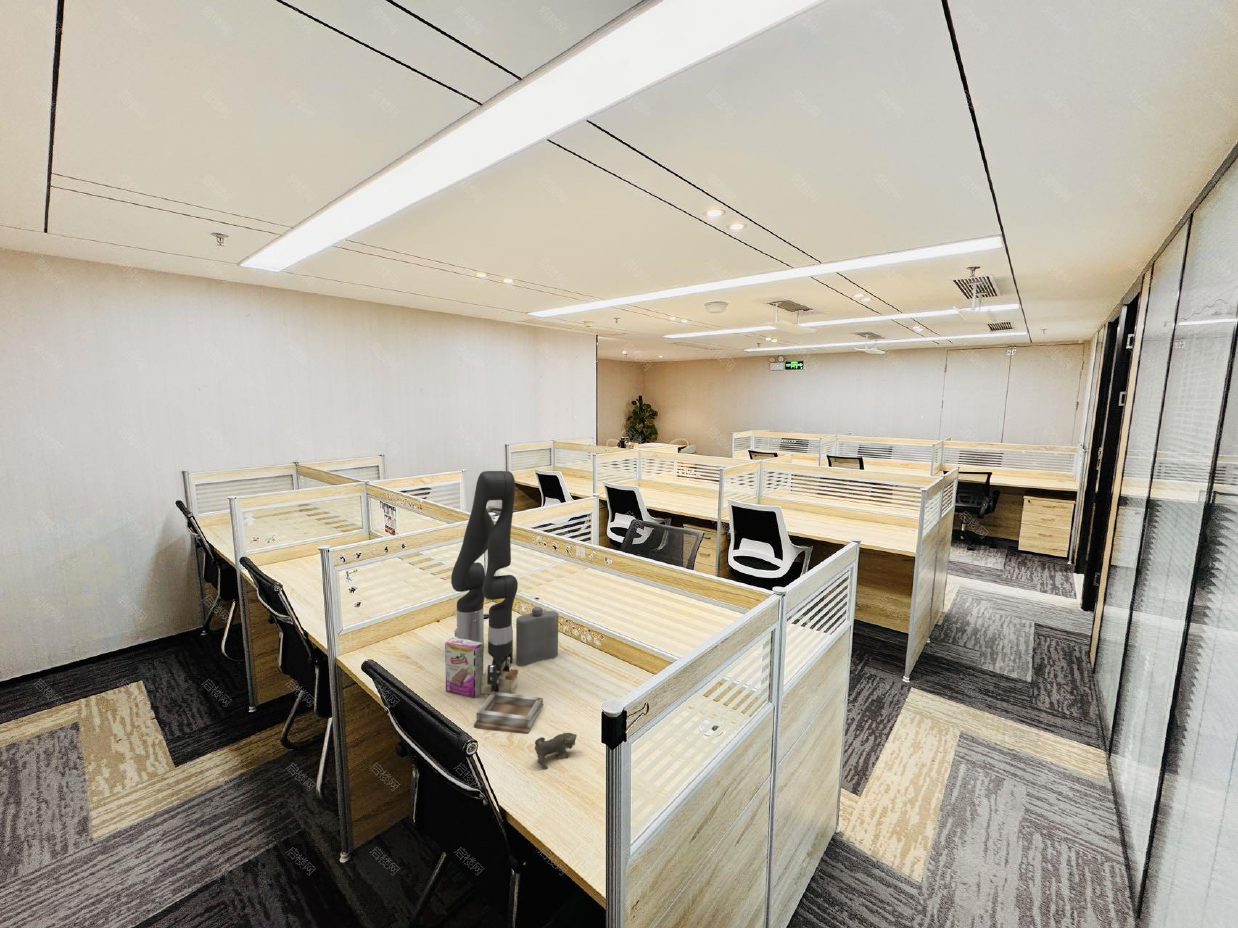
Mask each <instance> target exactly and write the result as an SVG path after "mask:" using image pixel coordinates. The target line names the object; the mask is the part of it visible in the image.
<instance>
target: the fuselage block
mask: <svg viewBox="0 0 1238 928" xmlns="http://www.w3.org/2000/svg"><path fill="white" fill-rule="evenodd" d="M509 669H510V671H509V672H506V671H503V672H502V676H500V679H499V692H501V693H509V694H515V691H516V689H517V688H518V674H519V669H514V668H509ZM499 672H500V671H497V673H499ZM487 674H488V668H487V669H486V670H485V671H484V672H483V675H482V676H481V693H480V694H484V695H485V694H486V695H490V694H491V685H489V684H487ZM490 679H491V677H490Z"/></svg>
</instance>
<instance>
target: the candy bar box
mask: <svg viewBox="0 0 1238 928" xmlns="http://www.w3.org/2000/svg"><path fill="white" fill-rule="evenodd" d="M444 648H445V650H444V651H445V654H444V655H445V691H446V692H448V693H453V694H456V695H462V696H464V697H467V698H474V699H476V697H478V696H479V695H480V694H482V693H481V676H482V675H483V674H484V652H483V643H481V642H476V641H472V640H467V639H463V638H458V637H455V636H453V637H452V638H450V639H449V640H447V641H446V642H444Z"/></svg>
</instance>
